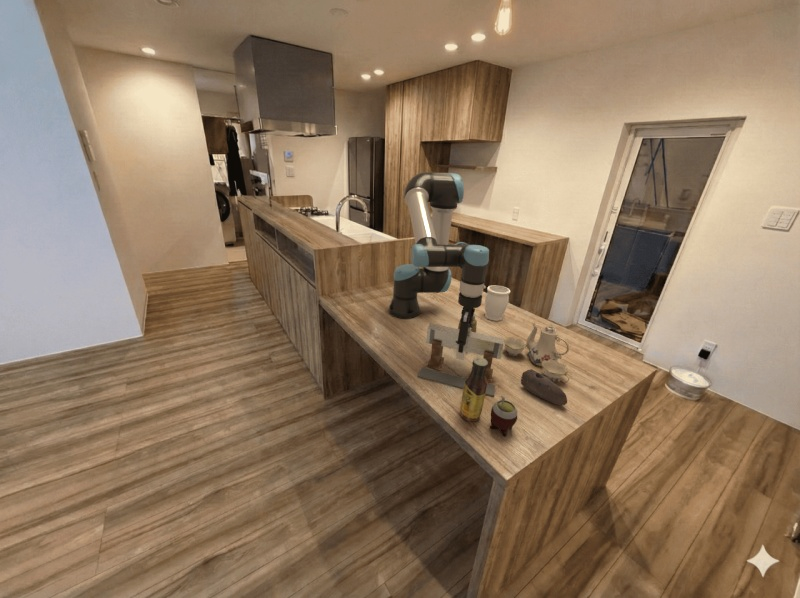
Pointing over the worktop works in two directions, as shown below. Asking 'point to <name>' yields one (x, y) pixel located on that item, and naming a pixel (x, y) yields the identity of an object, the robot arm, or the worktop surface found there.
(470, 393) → the sauce bottle
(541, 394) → the perforated stone tool
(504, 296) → the jar
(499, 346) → the rail
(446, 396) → the worktop surface
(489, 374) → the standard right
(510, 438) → the worktop surface
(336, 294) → the worktop surface
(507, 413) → the mate gourd
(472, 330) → the squeeze bottle
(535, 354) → the chinaware
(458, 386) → the mat
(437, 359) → the standard left
